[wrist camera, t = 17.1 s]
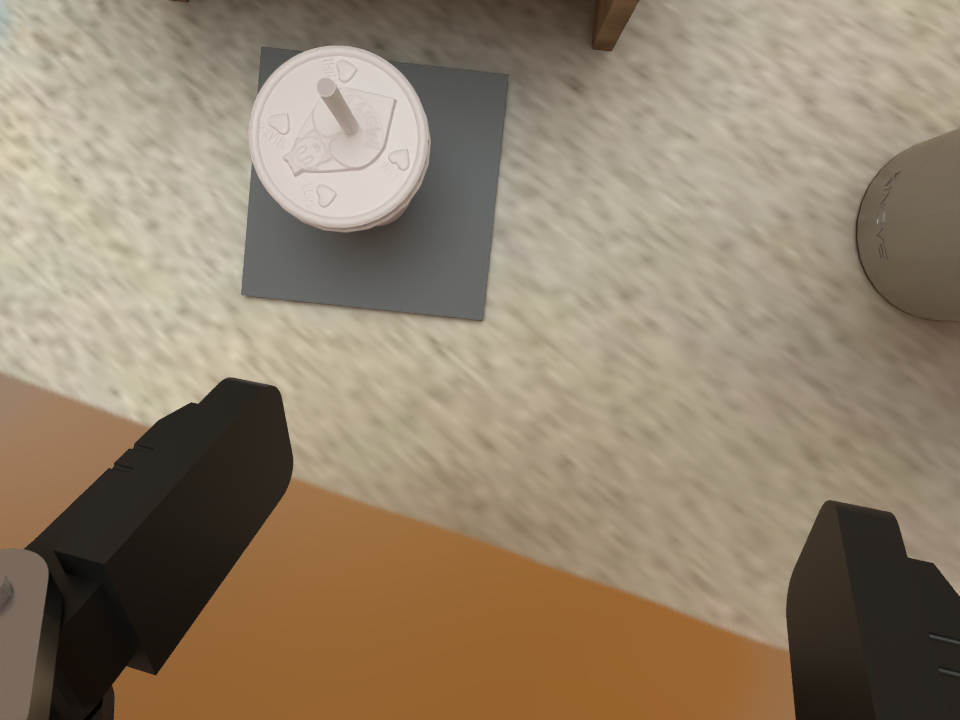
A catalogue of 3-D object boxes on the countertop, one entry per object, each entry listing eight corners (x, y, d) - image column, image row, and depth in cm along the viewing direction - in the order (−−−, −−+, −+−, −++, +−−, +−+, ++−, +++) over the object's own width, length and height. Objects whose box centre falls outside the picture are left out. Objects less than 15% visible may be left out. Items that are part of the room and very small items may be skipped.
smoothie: (464, 209, 34) (463, 134, 20) (354, 278, 34) (275, 252, 20) (395, 96, 33) (343, -63, 19) (284, 166, 33) (152, 59, 19)
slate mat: (507, 80, 34) (508, 74, 33) (482, 320, 35) (483, 320, 34) (266, 53, 34) (261, 46, 33) (246, 295, 35) (241, 294, 34)
